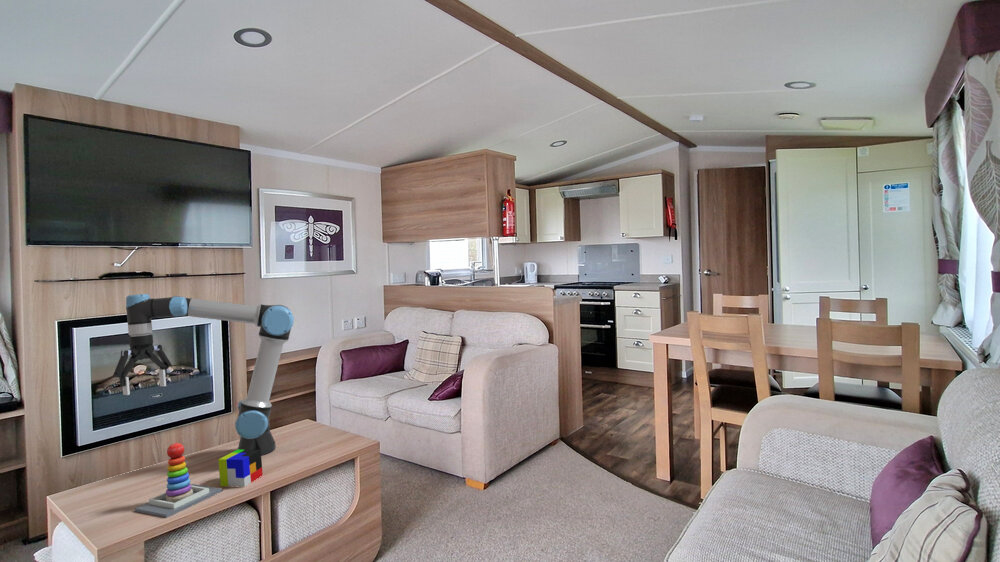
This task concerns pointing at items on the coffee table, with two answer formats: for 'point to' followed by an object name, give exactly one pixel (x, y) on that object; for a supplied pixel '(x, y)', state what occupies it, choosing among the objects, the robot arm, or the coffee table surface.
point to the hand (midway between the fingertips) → (145, 390)
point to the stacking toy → (177, 474)
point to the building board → (166, 509)
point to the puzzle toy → (240, 468)
